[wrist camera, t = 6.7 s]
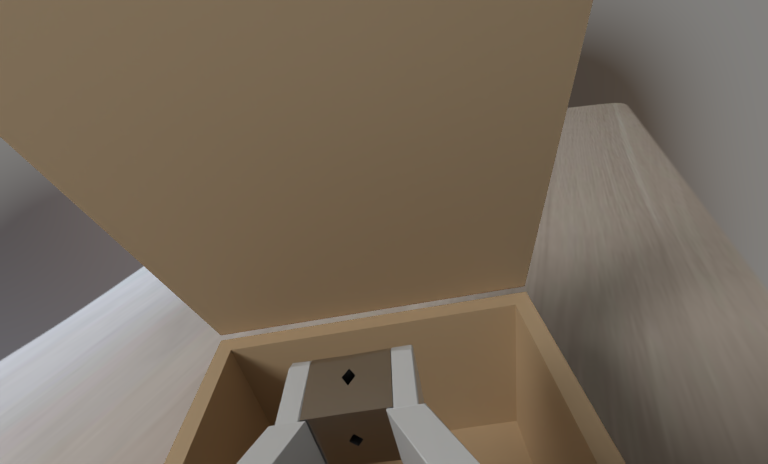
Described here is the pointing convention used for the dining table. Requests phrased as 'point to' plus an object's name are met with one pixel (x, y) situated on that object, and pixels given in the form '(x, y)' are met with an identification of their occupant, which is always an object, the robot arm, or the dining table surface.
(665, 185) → the dining table surface
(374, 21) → the lid
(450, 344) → the carton
